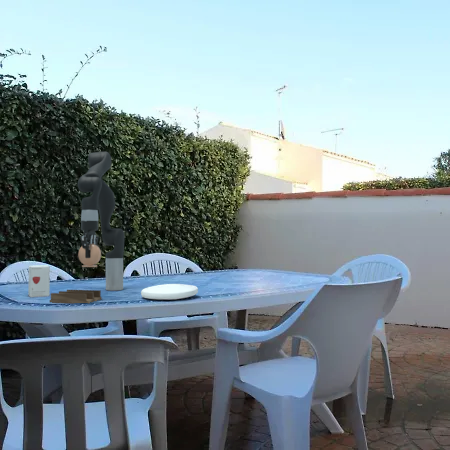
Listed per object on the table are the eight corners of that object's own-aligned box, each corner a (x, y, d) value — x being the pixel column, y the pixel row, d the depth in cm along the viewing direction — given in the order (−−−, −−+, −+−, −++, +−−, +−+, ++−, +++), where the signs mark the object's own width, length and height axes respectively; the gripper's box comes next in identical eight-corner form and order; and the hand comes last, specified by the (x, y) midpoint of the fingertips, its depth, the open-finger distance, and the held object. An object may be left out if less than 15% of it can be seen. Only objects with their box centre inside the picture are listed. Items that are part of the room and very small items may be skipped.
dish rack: (66, 298, 229) (66, 289, 229) (101, 299, 225) (101, 290, 225) (49, 302, 215) (49, 293, 215) (86, 303, 211) (86, 294, 211)
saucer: (81, 266, 223) (81, 243, 224) (101, 266, 221) (101, 243, 222) (78, 266, 221) (78, 243, 221) (98, 267, 218) (98, 243, 219)
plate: (181, 292, 213) (129, 290, 223) (182, 306, 213) (130, 304, 223) (206, 279, 239) (159, 278, 249) (207, 292, 239) (160, 291, 249)
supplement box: (30, 297, 233) (30, 266, 233) (28, 295, 241) (28, 265, 241) (49, 296, 237) (49, 265, 237) (47, 294, 245) (47, 264, 245)
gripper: (89, 220, 229) (89, 257, 229) (74, 219, 216) (74, 258, 215) (104, 220, 228) (103, 257, 227) (89, 219, 214) (89, 258, 213)
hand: (89, 257), depth 221 cm, fingers closed on saucer, 2 cm apart
